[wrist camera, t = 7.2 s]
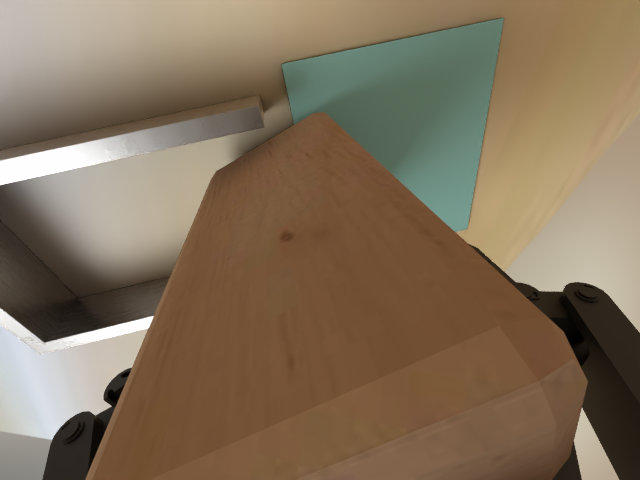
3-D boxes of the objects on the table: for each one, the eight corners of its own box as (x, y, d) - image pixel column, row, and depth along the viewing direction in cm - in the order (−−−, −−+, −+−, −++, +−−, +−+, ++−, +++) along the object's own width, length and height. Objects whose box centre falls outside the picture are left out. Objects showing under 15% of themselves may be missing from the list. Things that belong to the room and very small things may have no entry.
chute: (301, 254, 28) (308, 288, 24) (73, 309, 27) (40, 354, 23) (259, 94, 20) (258, 105, 16) (-76, 166, 19) (-171, 197, 15)
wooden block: (323, 103, 19) (648, 360, 3) (372, 210, 25) (578, 502, 9) (207, 173, 21) (-3, 617, 4) (278, 260, 26) (303, 595, 10)
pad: (465, 227, 30) (467, 228, 30) (322, 261, 29) (323, 263, 29) (500, 18, 20) (504, 17, 19) (281, 63, 19) (281, 64, 19)
